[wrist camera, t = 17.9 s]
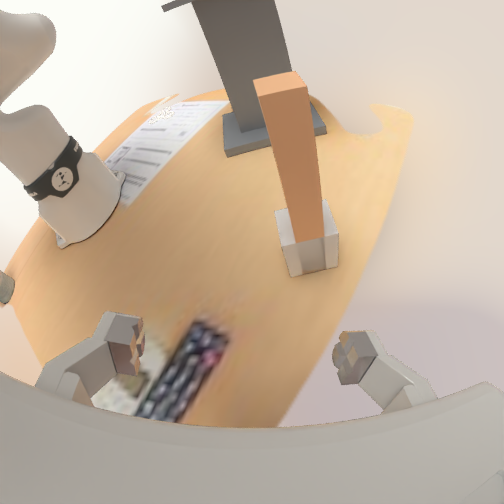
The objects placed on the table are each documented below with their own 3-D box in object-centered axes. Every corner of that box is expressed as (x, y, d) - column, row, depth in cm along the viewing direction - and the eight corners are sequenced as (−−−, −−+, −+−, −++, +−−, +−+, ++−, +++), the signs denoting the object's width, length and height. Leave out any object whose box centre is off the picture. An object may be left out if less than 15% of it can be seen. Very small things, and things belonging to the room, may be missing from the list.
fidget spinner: (148, 126, 58) (146, 123, 57) (156, 112, 61) (155, 110, 60) (172, 118, 56) (171, 115, 55) (180, 105, 59) (178, 102, 58)
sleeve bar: (330, 82, 11) (308, 60, 14) (233, 103, 12) (230, 77, 14) (337, 266, 27) (328, 235, 30) (290, 277, 28) (284, 245, 30)
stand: (326, 133, 39) (296, -28, 17) (227, 157, 41) (161, 6, 20) (306, 101, 45) (277, -25, 24) (224, 121, 48) (175, 1, 26)
